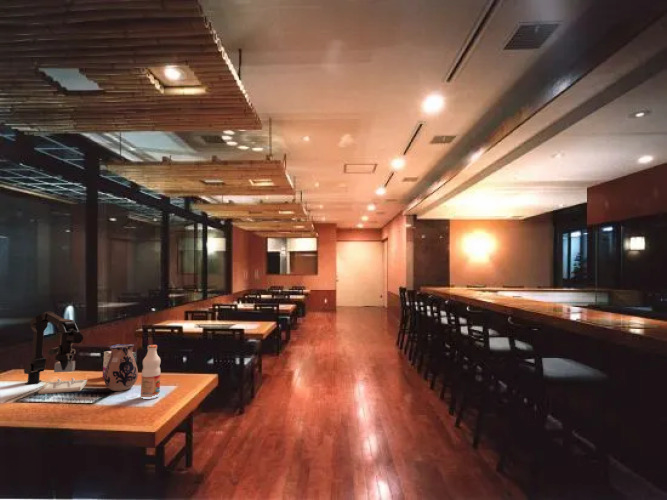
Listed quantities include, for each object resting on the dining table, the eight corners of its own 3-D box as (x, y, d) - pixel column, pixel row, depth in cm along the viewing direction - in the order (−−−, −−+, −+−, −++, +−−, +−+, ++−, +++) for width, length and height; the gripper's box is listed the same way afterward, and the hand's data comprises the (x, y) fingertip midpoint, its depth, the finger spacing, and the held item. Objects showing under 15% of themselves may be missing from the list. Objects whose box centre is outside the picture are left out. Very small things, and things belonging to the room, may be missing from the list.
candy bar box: (121, 377, 256) (122, 351, 257) (114, 379, 252) (115, 353, 253) (109, 375, 261) (110, 350, 262) (102, 377, 256) (103, 351, 257)
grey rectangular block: (57, 370, 233) (57, 361, 233) (74, 369, 236) (75, 360, 236) (54, 372, 228) (54, 363, 228) (72, 371, 231) (72, 362, 231)
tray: (47, 385, 236) (48, 378, 236) (86, 383, 243) (87, 375, 243) (38, 394, 220) (38, 385, 220) (80, 390, 227) (80, 382, 227)
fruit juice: (139, 396, 219) (141, 344, 221) (157, 393, 224) (159, 343, 226) (141, 400, 211) (144, 347, 213) (160, 398, 217) (163, 346, 218)
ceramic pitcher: (111, 395, 220) (114, 349, 221) (95, 388, 232) (97, 345, 234) (143, 388, 234) (145, 345, 235) (125, 382, 246) (127, 341, 248)
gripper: (54, 340, 239) (53, 366, 238) (44, 345, 221) (43, 374, 220) (76, 339, 243) (74, 365, 242) (68, 344, 225) (66, 372, 224)
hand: (64, 369), depth 232 cm, fingers closed on grey rectangular block, 5 cm apart
